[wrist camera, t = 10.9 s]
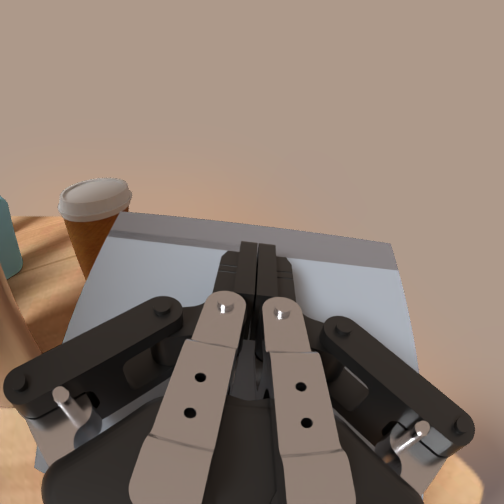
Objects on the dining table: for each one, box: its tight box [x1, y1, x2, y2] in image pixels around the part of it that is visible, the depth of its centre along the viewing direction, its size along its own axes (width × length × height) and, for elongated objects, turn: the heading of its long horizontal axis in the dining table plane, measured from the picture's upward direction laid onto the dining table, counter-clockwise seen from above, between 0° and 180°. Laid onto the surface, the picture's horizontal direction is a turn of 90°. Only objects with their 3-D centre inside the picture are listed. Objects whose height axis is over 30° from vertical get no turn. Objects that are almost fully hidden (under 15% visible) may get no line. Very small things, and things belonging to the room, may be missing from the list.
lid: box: [34, 211, 423, 500], centre depth 12 cm, size 16×14×2 cm
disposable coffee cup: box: [58, 178, 132, 280], centre depth 32 cm, size 10×10×12 cm
